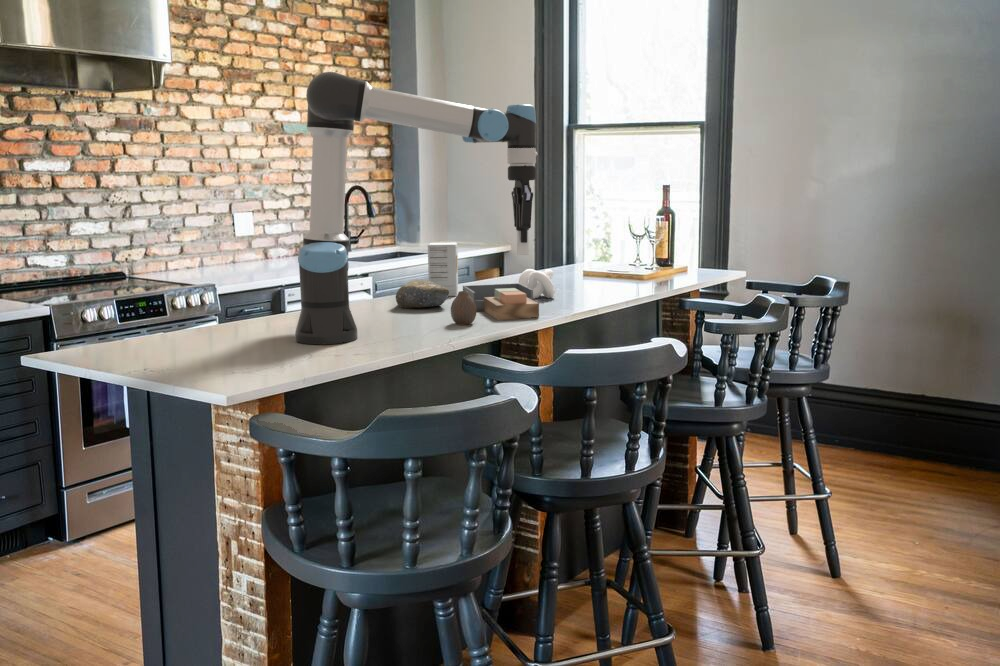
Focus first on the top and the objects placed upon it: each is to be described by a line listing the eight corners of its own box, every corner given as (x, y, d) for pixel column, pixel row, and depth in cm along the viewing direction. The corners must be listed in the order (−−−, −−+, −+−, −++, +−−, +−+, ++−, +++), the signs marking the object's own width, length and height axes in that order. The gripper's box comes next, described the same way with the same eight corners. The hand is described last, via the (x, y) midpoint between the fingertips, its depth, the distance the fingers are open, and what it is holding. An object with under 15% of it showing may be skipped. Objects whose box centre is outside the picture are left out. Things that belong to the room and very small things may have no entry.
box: (473, 311, 266) (473, 292, 265) (463, 303, 281) (462, 285, 280) (533, 308, 270) (532, 289, 269) (519, 300, 285) (519, 283, 284)
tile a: (505, 303, 253) (505, 295, 253) (500, 300, 259) (500, 292, 258) (526, 302, 254) (526, 294, 254) (520, 299, 260) (520, 291, 260)
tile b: (499, 300, 260) (499, 291, 259) (494, 297, 265) (494, 288, 265) (519, 299, 261) (519, 290, 261) (514, 296, 267) (514, 287, 266)
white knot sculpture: (566, 298, 290) (566, 270, 288) (535, 301, 283) (535, 273, 281) (544, 294, 299) (544, 266, 297) (514, 297, 292) (514, 269, 291)
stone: (414, 301, 286) (413, 276, 285) (460, 306, 275) (460, 280, 274) (383, 307, 275) (382, 281, 274) (430, 313, 264) (429, 285, 263)
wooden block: (497, 319, 251) (496, 305, 250) (484, 310, 266) (483, 297, 266) (538, 317, 254) (538, 303, 253) (523, 308, 269) (523, 295, 269)
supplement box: (457, 296, 296) (455, 244, 293) (428, 296, 296) (427, 244, 293) (458, 292, 305) (457, 241, 302) (431, 292, 305) (429, 242, 302)
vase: (473, 326, 242) (472, 293, 240) (448, 325, 243) (447, 293, 242) (479, 321, 249) (478, 290, 247) (454, 321, 250) (453, 289, 248)
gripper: (542, 164, 235) (543, 256, 239) (528, 164, 247) (529, 251, 252) (514, 165, 233) (515, 257, 237) (502, 165, 245) (503, 252, 250)
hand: (522, 254), depth 244 cm, fingers closed
